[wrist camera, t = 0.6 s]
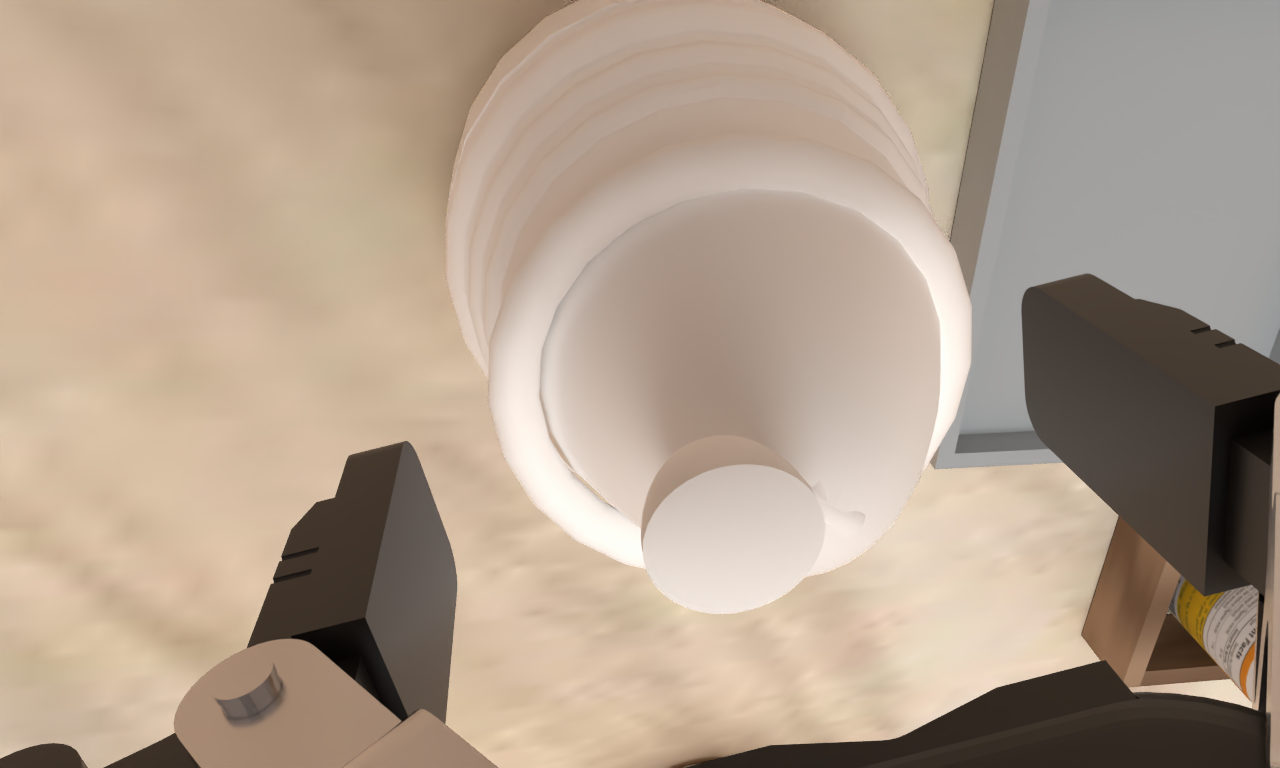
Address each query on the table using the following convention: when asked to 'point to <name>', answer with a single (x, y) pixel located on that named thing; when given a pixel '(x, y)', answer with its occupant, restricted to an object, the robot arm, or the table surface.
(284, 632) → the robot arm
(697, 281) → the honey pot
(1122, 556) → the holder
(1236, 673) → the supplement bottle
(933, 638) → the table surface
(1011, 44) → the tray
